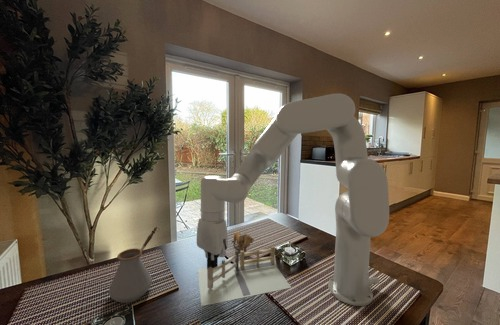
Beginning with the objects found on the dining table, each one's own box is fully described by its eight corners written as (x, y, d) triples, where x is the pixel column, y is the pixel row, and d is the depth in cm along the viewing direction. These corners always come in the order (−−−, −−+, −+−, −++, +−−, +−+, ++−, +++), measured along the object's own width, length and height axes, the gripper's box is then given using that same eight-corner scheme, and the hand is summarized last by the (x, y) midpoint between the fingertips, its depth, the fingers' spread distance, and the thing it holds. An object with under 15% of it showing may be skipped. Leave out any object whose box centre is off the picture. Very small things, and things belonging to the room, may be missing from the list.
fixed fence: (273, 262, 82) (273, 246, 81) (274, 264, 81) (274, 247, 80) (239, 268, 78) (239, 250, 78) (240, 269, 77) (240, 252, 77)
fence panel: (236, 266, 78) (236, 250, 78) (239, 268, 78) (239, 251, 77) (207, 287, 67) (207, 268, 66) (210, 289, 66) (210, 269, 66)
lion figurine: (255, 255, 88) (255, 234, 87) (244, 259, 85) (244, 237, 84) (236, 241, 100) (236, 223, 99) (226, 244, 97) (226, 225, 96)
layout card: (270, 259, 85) (270, 257, 85) (291, 288, 68) (291, 287, 68) (197, 270, 77) (197, 268, 77) (201, 307, 60) (201, 305, 60)
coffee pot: (137, 310, 59) (135, 258, 58) (99, 306, 61) (95, 255, 59) (173, 265, 80) (172, 227, 79) (144, 263, 82) (142, 225, 80)
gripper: (188, 212, 70) (188, 266, 72) (221, 223, 61) (221, 284, 63) (205, 207, 76) (205, 256, 78) (238, 216, 67) (237, 272, 69)
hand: (212, 268), depth 70 cm, fingers closed
